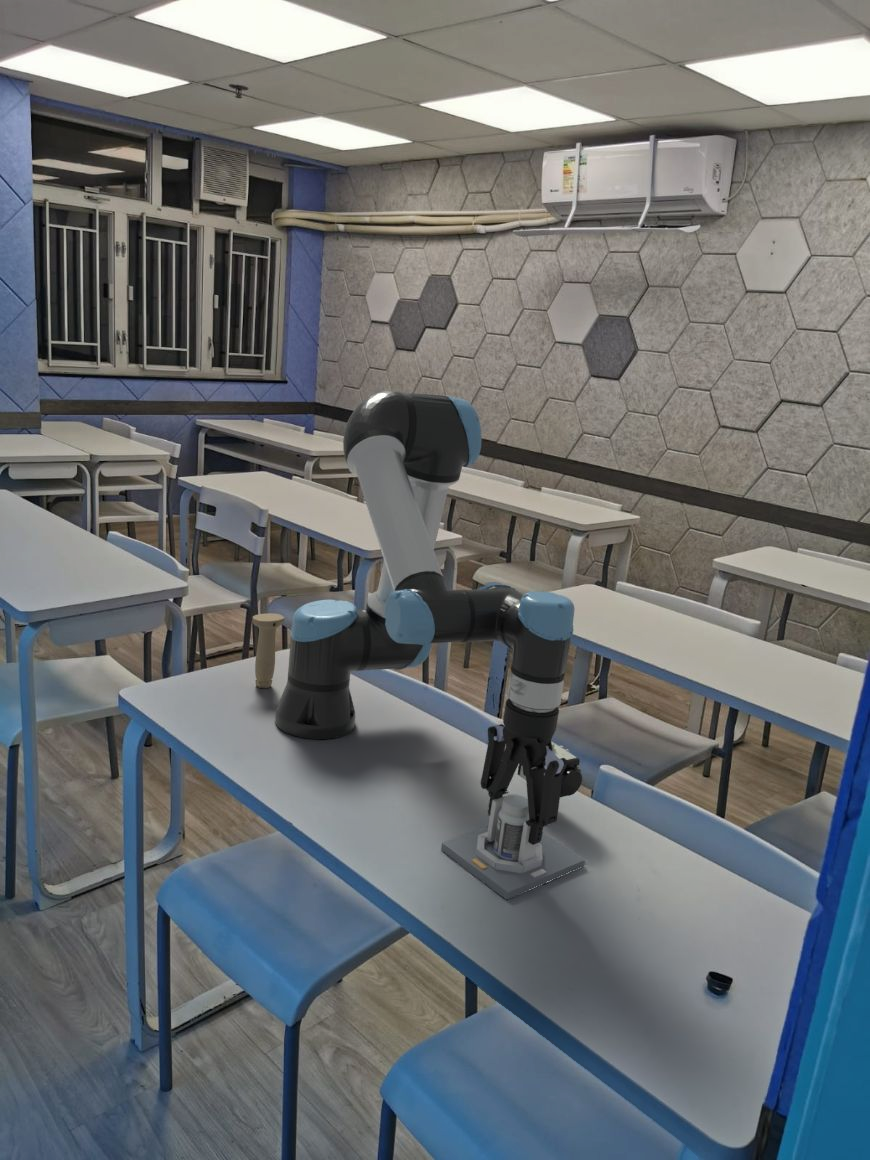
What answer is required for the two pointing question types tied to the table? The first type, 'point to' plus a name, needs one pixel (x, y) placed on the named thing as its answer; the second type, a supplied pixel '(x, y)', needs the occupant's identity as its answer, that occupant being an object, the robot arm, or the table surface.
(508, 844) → the pill bottle
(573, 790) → the pneumatic valve
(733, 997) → the table surface
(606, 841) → the table surface
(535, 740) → the robot arm
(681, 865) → the table surface
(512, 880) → the slate board
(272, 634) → the handle
